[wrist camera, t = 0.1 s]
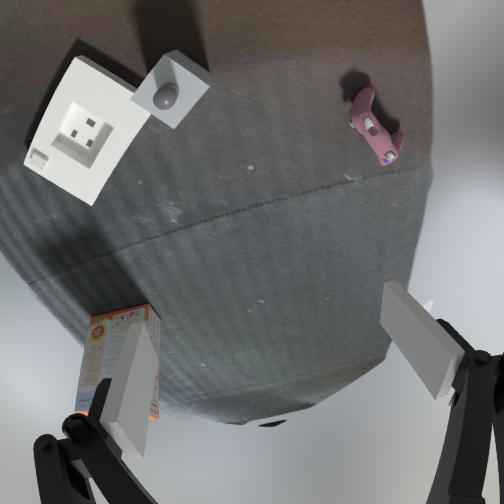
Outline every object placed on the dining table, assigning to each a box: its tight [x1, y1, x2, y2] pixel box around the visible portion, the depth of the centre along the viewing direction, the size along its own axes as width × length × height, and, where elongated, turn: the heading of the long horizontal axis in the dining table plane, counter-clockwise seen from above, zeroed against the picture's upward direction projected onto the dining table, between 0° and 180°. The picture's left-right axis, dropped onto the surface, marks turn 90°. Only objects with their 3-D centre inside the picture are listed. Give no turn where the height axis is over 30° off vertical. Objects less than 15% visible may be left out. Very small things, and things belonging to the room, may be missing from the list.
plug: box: [130, 49, 210, 129], centre depth 26 cm, size 6×5×13 cm
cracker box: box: [75, 304, 161, 420], centre depth 48 cm, size 14×6×21 cm, turn 103°
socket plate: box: [24, 55, 151, 206], centre depth 31 cm, size 16×12×3 cm
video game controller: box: [349, 87, 404, 166], centre depth 35 cm, size 10×5×7 cm, turn 44°
